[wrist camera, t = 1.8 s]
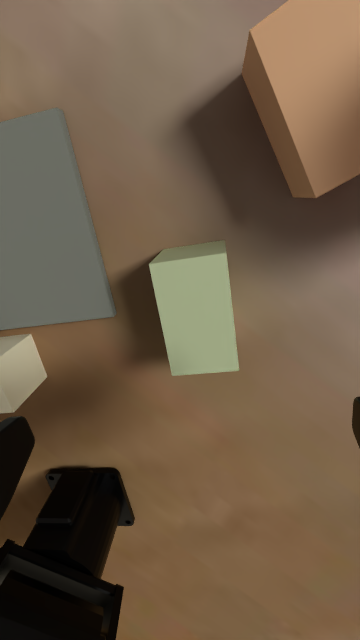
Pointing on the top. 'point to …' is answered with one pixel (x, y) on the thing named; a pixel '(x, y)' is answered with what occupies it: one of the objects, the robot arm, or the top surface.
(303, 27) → the brick terracotta
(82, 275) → the coaster
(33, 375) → the brick cream
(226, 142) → the top surface
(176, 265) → the brick sage
